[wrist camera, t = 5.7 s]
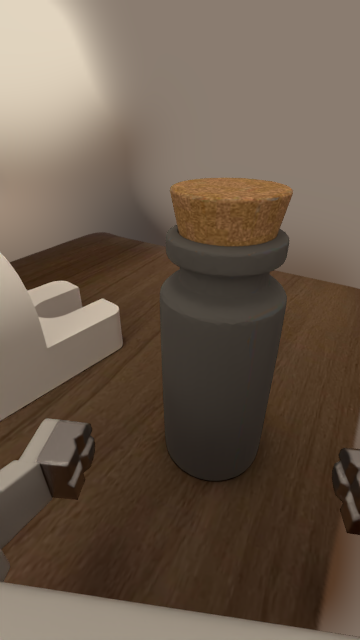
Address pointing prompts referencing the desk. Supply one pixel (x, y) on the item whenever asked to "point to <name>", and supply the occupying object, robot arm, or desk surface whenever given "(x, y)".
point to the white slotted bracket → (48, 337)
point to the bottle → (221, 320)
